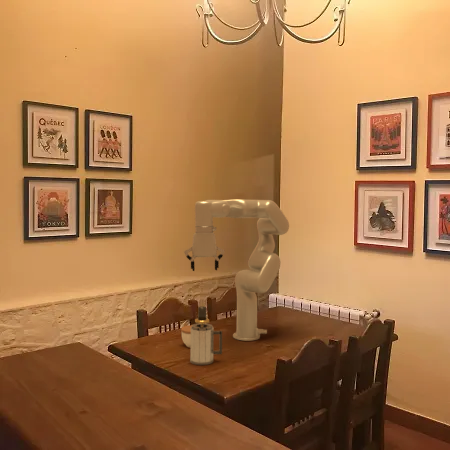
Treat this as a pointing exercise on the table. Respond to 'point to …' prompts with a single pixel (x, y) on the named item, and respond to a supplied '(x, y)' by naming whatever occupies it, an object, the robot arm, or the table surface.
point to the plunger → (202, 316)
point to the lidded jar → (186, 335)
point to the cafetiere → (203, 344)
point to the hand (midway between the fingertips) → (204, 270)
